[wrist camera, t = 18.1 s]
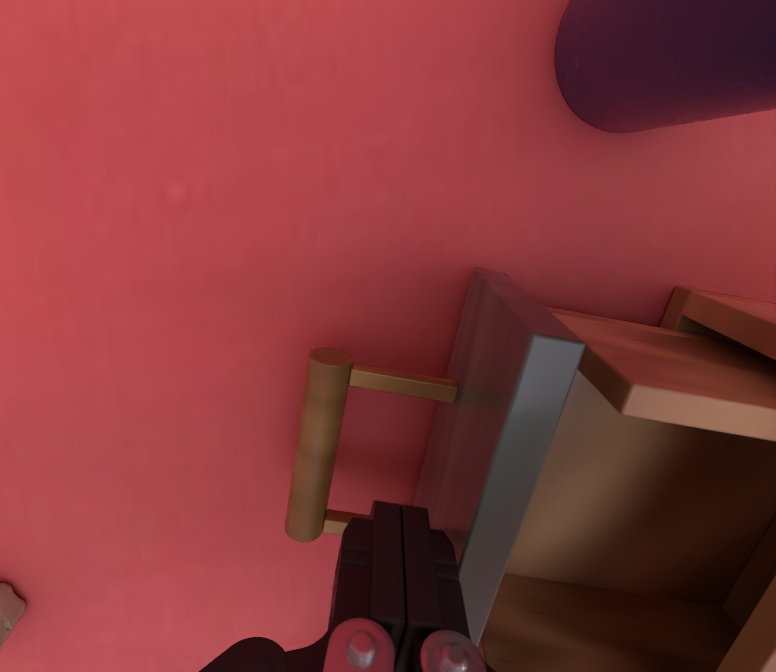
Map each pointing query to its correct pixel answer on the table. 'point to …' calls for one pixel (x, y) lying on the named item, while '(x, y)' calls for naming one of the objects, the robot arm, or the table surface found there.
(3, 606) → the handle
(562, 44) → the can
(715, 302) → the cabinet
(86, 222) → the table surface
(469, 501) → the drawer
